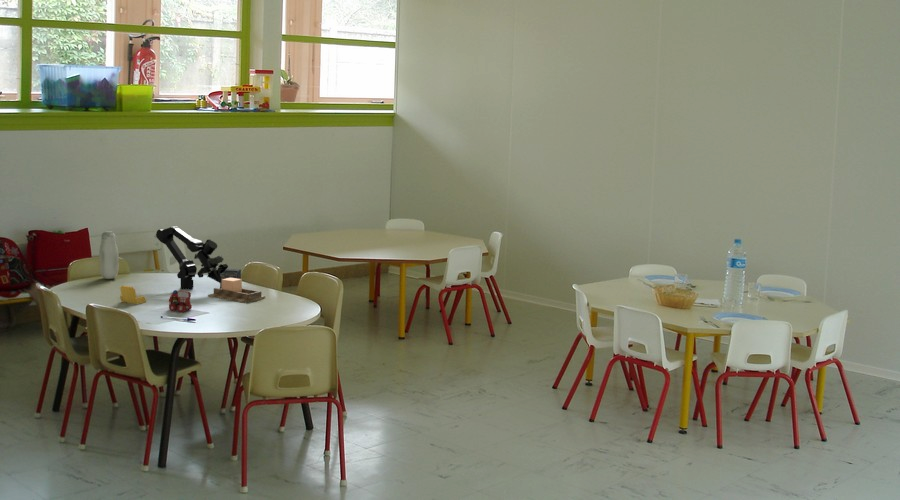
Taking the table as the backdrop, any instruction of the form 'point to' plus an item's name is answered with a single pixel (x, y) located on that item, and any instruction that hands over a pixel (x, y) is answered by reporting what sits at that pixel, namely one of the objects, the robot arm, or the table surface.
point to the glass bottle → (108, 255)
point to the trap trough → (237, 295)
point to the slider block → (232, 284)
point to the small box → (230, 274)
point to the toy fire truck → (180, 301)
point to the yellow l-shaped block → (130, 295)
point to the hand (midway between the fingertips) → (221, 282)
